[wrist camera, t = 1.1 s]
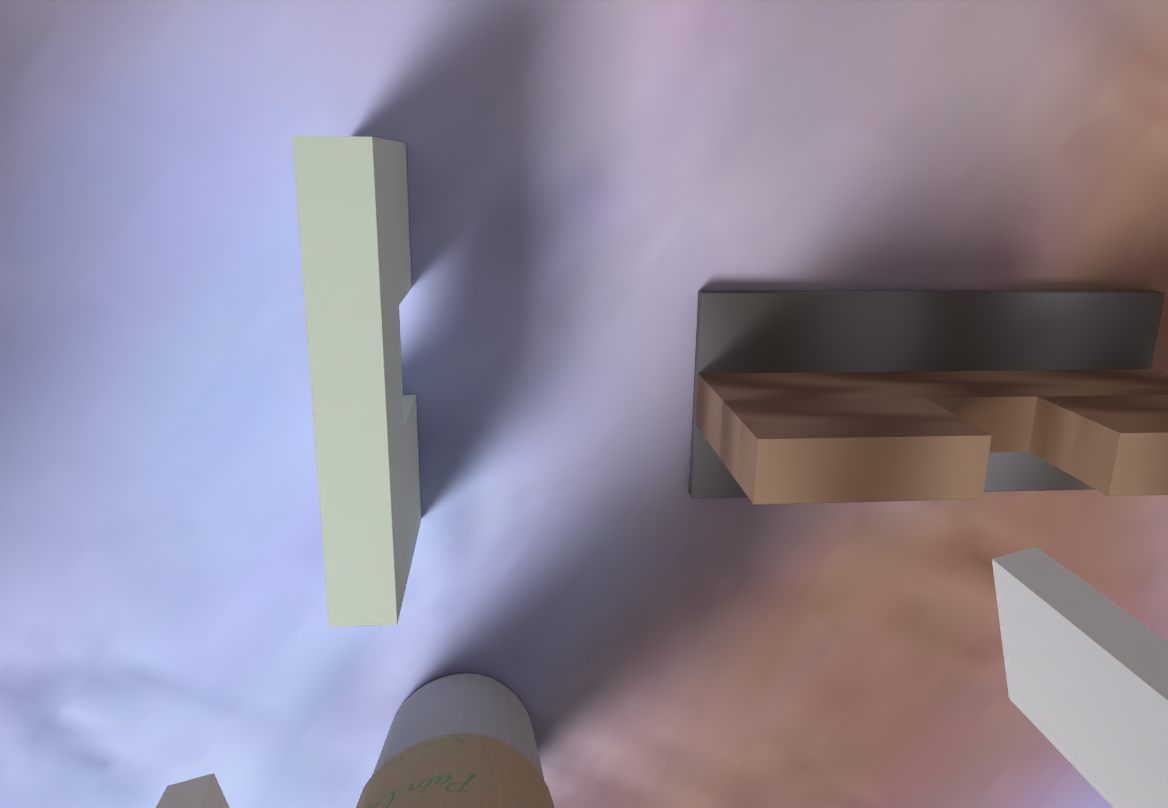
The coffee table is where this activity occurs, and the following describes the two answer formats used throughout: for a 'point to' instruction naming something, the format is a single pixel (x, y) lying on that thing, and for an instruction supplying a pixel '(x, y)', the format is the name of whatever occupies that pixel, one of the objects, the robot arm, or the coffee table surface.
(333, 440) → the pale green upright panel
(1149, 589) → the coffee table surface
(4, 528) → the coffee table surface
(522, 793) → the coffee cup
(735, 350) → the brown piece
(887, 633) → the coffee table surface
